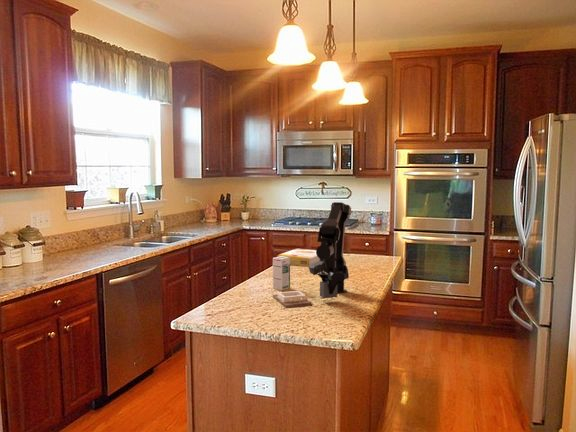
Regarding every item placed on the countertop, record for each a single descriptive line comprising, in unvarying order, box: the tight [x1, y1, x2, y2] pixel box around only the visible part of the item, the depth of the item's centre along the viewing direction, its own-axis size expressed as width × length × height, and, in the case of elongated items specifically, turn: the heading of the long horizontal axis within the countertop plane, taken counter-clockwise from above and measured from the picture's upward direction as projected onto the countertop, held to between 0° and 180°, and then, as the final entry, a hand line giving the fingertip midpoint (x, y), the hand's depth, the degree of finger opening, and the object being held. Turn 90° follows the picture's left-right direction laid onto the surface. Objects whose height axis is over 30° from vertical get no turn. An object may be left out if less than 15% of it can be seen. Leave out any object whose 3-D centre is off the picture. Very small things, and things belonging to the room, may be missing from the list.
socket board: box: [272, 290, 312, 309], centre depth 192 cm, size 16×11×3 cm
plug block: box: [319, 280, 338, 299], centre depth 191 cm, size 4×6×6 cm, turn 110°
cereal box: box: [277, 248, 320, 268], centre depth 278 cm, size 20×6×28 cm
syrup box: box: [272, 256, 291, 291], centre depth 212 cm, size 6×6×14 cm
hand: (328, 292), depth 191 cm, fingers closed on plug block, 4 cm apart
